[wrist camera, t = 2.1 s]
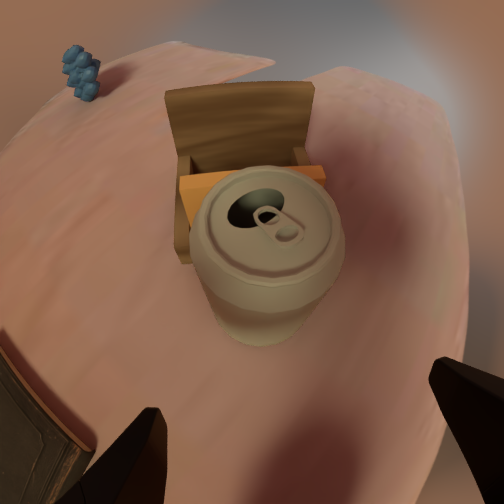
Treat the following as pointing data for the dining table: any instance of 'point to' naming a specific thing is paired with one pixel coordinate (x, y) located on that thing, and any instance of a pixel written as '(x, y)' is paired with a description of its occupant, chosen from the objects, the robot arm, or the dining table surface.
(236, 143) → the brown wooden crate
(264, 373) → the dining table surface
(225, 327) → the can
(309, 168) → the pusher
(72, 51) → the grapes
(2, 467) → the hardcover book
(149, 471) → the robot arm
